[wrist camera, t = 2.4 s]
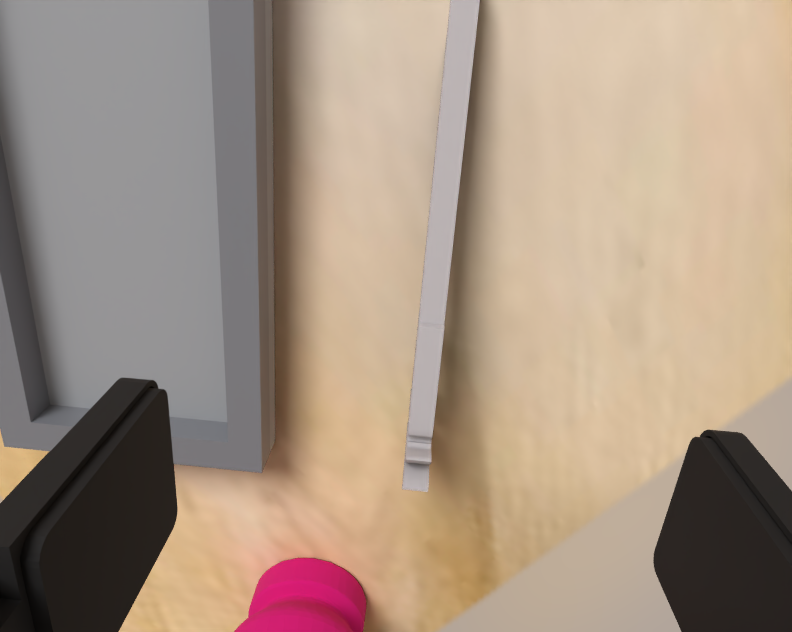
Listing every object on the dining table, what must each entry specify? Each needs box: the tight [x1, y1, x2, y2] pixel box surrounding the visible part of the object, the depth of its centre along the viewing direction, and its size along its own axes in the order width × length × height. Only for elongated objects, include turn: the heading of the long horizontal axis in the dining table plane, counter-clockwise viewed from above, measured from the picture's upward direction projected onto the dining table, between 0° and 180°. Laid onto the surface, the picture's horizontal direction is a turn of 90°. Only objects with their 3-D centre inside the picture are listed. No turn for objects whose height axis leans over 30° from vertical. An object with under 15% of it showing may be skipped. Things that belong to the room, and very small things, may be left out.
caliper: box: [402, 0, 480, 492], centre depth 22 cm, size 20×1×6 cm, turn 176°
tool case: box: [0, 0, 275, 473], centre depth 23 cm, size 12×27×2 cm, turn 176°
